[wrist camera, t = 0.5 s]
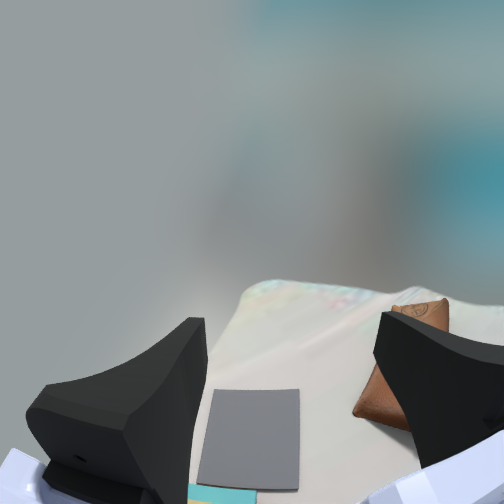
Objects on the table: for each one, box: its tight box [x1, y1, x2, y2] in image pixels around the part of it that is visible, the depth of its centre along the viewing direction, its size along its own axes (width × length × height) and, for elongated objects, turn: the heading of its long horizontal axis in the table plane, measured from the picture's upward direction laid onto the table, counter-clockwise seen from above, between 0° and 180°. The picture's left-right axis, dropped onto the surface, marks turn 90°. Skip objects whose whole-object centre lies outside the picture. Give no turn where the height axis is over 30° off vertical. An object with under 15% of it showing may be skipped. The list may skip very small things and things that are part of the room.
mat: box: [196, 389, 300, 489], centre depth 23 cm, size 11×9×1 cm
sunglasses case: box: [353, 298, 449, 432], centre depth 26 cm, size 18×7×7 cm
